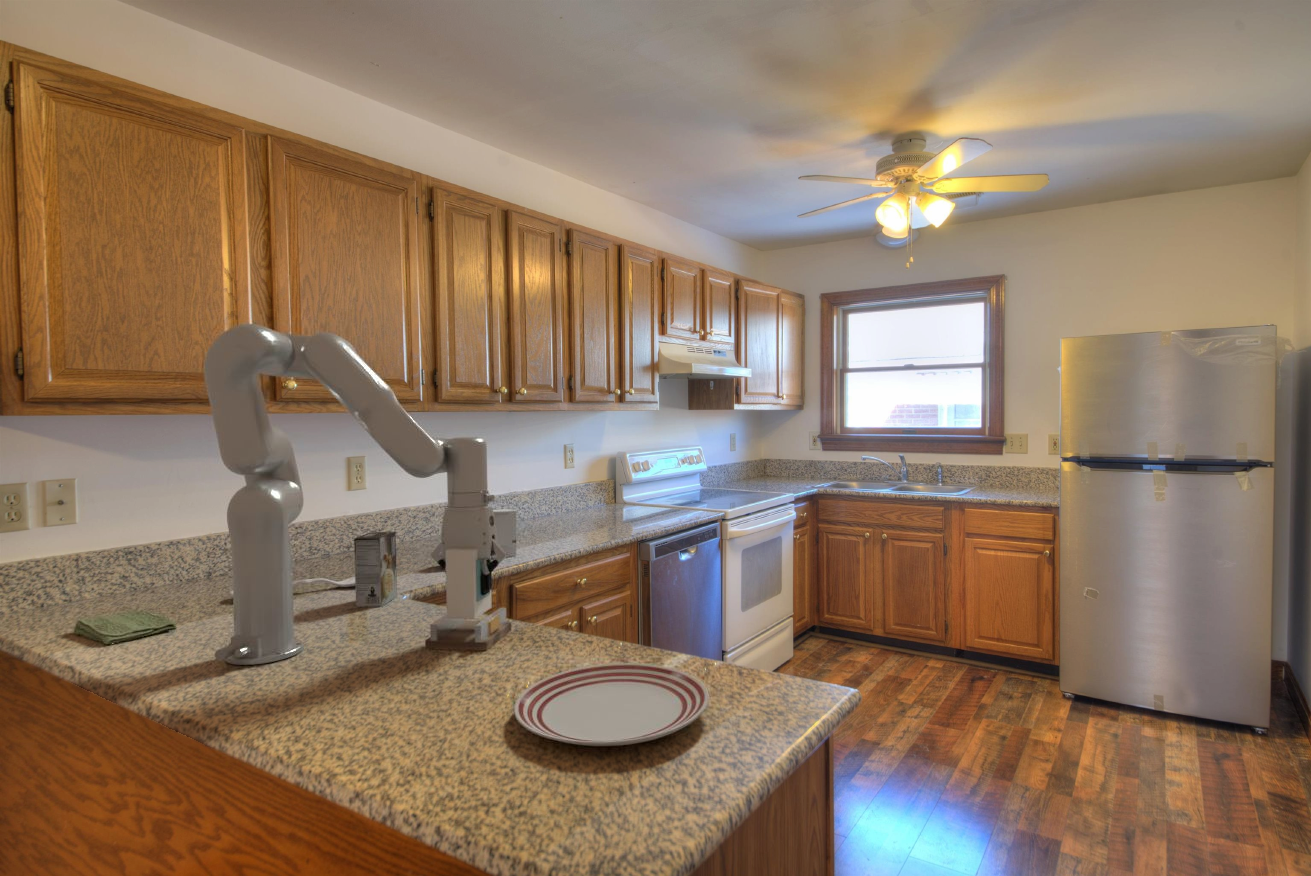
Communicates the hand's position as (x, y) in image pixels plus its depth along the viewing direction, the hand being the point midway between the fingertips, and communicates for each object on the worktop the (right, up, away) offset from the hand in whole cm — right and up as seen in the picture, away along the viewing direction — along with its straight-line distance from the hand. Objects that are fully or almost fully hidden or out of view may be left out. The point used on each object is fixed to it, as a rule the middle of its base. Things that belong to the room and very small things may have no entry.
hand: (469, 592), depth 135 cm
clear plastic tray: (0, -8, 0) cm, 8 cm away
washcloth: (-73, -10, +8) cm, 74 cm away
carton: (0, -4, 0) cm, 4 cm away
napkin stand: (0, -9, 0) cm, 9 cm away
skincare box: (-13, -8, +86) cm, 87 cm away
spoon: (-53, -9, +40) cm, 67 cm away
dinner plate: (+30, -10, -37) cm, 48 cm away
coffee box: (-30, -9, +30) cm, 43 cm away
